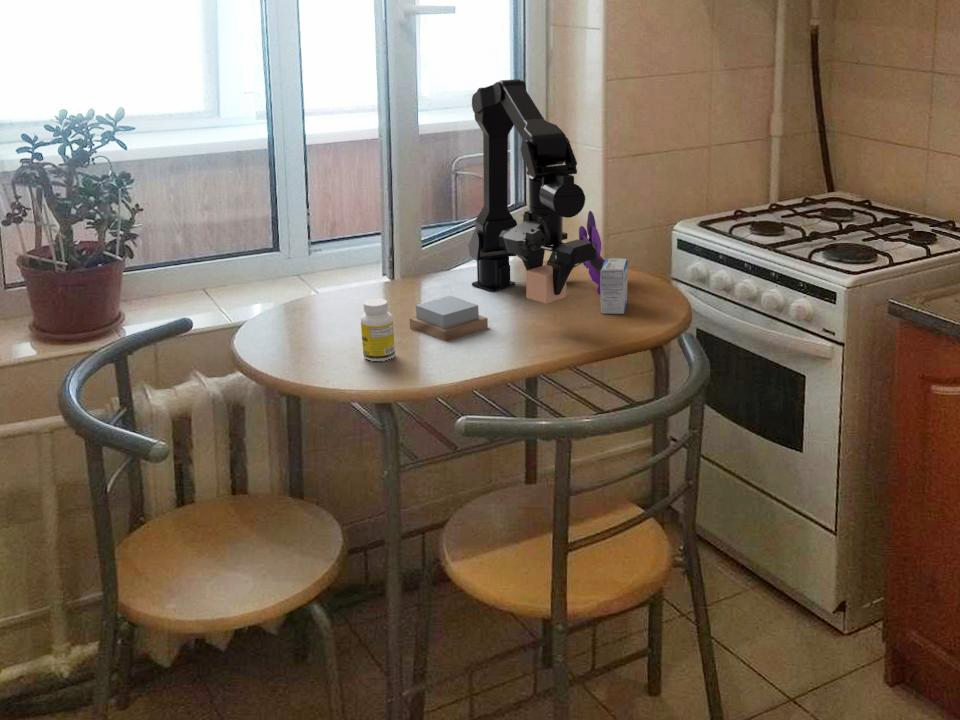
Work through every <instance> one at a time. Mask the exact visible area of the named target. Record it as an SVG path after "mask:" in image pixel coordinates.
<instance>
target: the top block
mask: <svg viewBox="0 0 960 720" xmlns="http://www.w3.org/2000/svg"><path fill="white" fill-rule="evenodd" d="M479 313H480V312H479V305H478V304H475V303H474V302H470V301H467V300H464V299H462V298H458V297H456V296H453V295H448V296H447V295H446V296H444V297H441V298H440V297H439V298H438V299H434V300H429V301H426V302H422V303H418V304H416V305H415V314H416V316H415V317H416V318H417V319H420V320H422V321H425V322H427V323H430V324H433V325H435V326H438V327H440V328H443V329H445V328H448V327H452V326H455V325H458V324H462V323H465V322H468V321H472V320H475V319H479Z"/></svg>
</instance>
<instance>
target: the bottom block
mask: <svg viewBox="0 0 960 720" xmlns="http://www.w3.org/2000/svg"><path fill="white" fill-rule="evenodd" d="M488 319H489V318H488V317H485V316H483V315H479V319H475V320H472V321H468V322H465V323H462V324H458V325H455V326H452V327H448V328H445V329H443V328H440V327H438V326H435V325H433V324H430V323H427V322H425V321H422V320H420V319H417V318H416V316H414V317H413V316H412V317H410V318H409V329H411V328H412V329H411V330H414V329H415V330H414V331H417V332H419V331H421V332H420V333H422V332H423V333H422V334H425V333H426V334H425V335H427V334H428V336H430V335H431V337H432V338H437V339H438V340H441V341H444V342H447V341H451V340H453V339H457V338H459V337H463V336H466V335H469V334H472V333H475V332H479V331H481V330H485V329H489V325H488V323H489V321H488Z"/></svg>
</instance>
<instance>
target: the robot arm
mask: <svg viewBox="0 0 960 720" xmlns="http://www.w3.org/2000/svg"><path fill="white" fill-rule="evenodd" d="M471 107H472V112H473V114H474V120H475V122H476V124H477V125H478V127H479V128H480V130H481V131H482V134H483V135H482V136H483V141H482V143H483V146H482V147H483V151H482V152H483V207H482V208H481V211H480V212H479V214H478V216H477V217H476V219H475V226H474V228H475V229H474V230H473V233H472V235H471V237H470V240H469V243H468V254H469V256H470V257H471V258H472V259H474V260H475V261H476V269H477V274H476V275H477V276H476V277H477V279H476V280H477V281H473V282H471V286H473V287H477V288H480V289H484V290H487V291H489V292H495V291H496V292H497V291H499V290H502V289H505V288H509V287H512V286H516V282H515V281H513V280H511V265H510V257H517V258H519V259H520V260H521V261H522V262H523V263H522V264H524V265H523V266H524V267H525V270H526V271H527V270H530V269H533V268H537V267H540V266H544V259H545V258H544V257H545V253H546V252H545V251H548V252H551V253H552V252H556V255H555V259H551V260H549V259H548V260H547V262H548V263H549V264H550V265H551V266H552V268H553V288H554V294H555V295H559V294H560V293H561V291H562V289H563V287H564V285H565V283H566V284H567V281H568V279H569V276H570V274H571V272H572V271H573V269H574V268H575V267H574V266H576V265H577V264H579V263H582V262H585V261H589V260H592V259H595V258H596V248H595V246H594V245H593V244H592V243H591V242H587V241H582V240H579V238H578V239H574V240H570V241H567V242H563V241H564V240H568V233H567V232H563V231H564V230H563V229H564V228H563V227H564V226H563V223H564V222H563V218H567V219H570V218H573V217H575V216H578V215H579V214H580V213H581V211H582V210H583V208H584V207H585V204H586V195H585V192H584V190H583V188H582V187H580V185H578V184H576V183H575V176H574V175H577V174H578V170H577V165H578V161H577V159H576V155H575V153H574V151H573V148H572V145H571V143H570V140H569V138H568V137H567V135H566V134H565V133H564V131H563V130H562V129H561V128H560V127H559V126H558V125H557V124H554V123H551V122H549V121H547V120H546V119H545V118H544V117H543V115H542V113H541V111H540V110H539V109H538V107H537V106H536V104H535V102H534V101H533V98H531V96H530V94H529V93H528V91H527V87H526V83H525V81H524V80H521V79H520V78H519V79H518V78H517V79H503V80H502V79H501V80H499V81H497V82H495V83H493V84H492V85H491V84H490V85H488V86H485V87H478V89H477V90H476V92H475V93H473V94H472V97H471ZM514 127H515V128H516V130H517V132H518V133H519V135H520V137H521V140H522V141H521V146H520V152H521V157H522V160H523V163H524V164H525V167H526V168H527V170H526V175H527V176H528V177H529V178H528V188H529V189H528V190H529V191H528V194H529V195H528V196H529V199H528V200H529V201H528V203H529V207H528V208H529V210H525V211H524V213H523V215H522V216H523V217H522V222H520V223H518V221H516V219H515V218H514V217H513V215H512V213H511V212H510V211H509V134H510V132H512V129H513V128H514ZM582 264H583V263H582ZM573 267H574V268H573Z"/></svg>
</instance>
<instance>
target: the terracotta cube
mask: <svg viewBox="0 0 960 720" xmlns="http://www.w3.org/2000/svg"><path fill="white" fill-rule="evenodd" d="M525 277H526V278H525V283H526V285H525V286H526V287H525V288H526V291H525V293H526V295H525V296H526V297H525V298H527V299H530V300H533V301H536V302H540V303H542V304H549V303H554V302H556V301H559V300H562V299H565V298H567V282H566V283H565V285H564V287H563V289H562V291H561V293H560V294H559V295H555V294H554V288H553V268H552V266H549V265H546V264H543V266H540V267H537V268H533V269H530V270H526V271H525Z"/></svg>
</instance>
